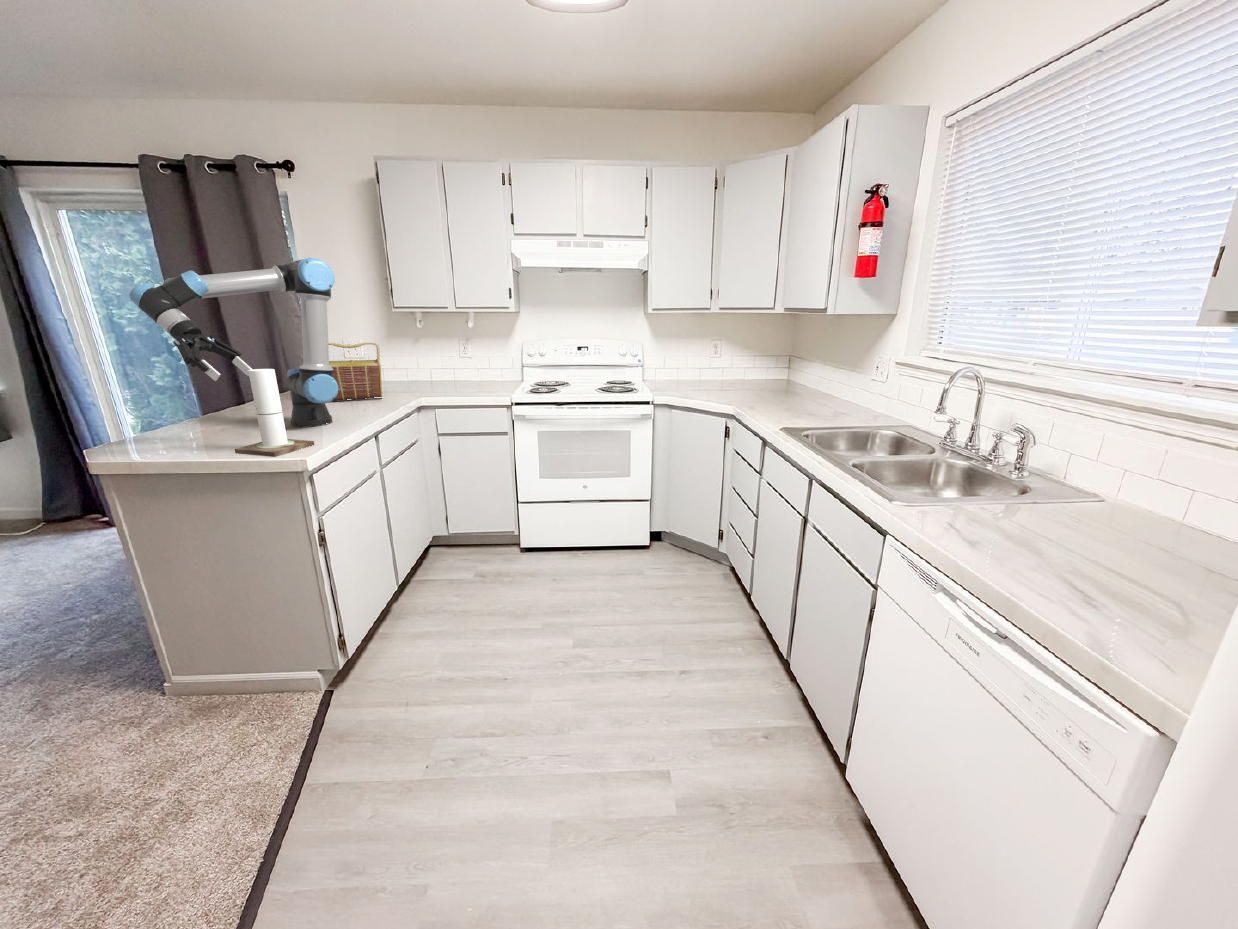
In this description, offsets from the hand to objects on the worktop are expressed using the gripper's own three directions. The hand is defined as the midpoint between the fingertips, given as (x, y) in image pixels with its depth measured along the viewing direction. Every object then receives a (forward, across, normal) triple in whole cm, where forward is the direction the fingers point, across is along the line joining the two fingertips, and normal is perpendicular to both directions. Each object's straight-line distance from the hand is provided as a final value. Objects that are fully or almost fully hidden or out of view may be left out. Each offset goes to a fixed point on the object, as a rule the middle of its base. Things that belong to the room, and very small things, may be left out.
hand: (234, 375), depth 164 cm
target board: (+24, 0, -11) cm, 27 cm away
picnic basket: (+2, -106, -34) cm, 111 cm away
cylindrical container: (+23, 0, -10) cm, 25 cm away
